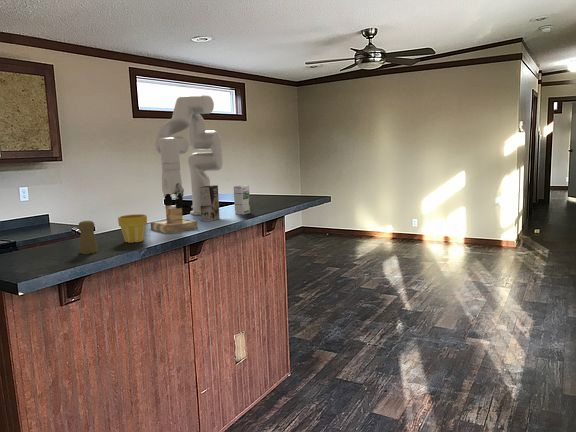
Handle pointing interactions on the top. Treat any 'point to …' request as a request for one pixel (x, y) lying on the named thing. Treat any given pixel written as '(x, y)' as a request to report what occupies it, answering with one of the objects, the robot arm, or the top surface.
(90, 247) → the cork
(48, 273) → the top surface
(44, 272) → the top surface
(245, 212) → the syrup box
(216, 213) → the coffee box
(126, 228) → the plant pot
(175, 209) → the tan upright block
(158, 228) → the dock
